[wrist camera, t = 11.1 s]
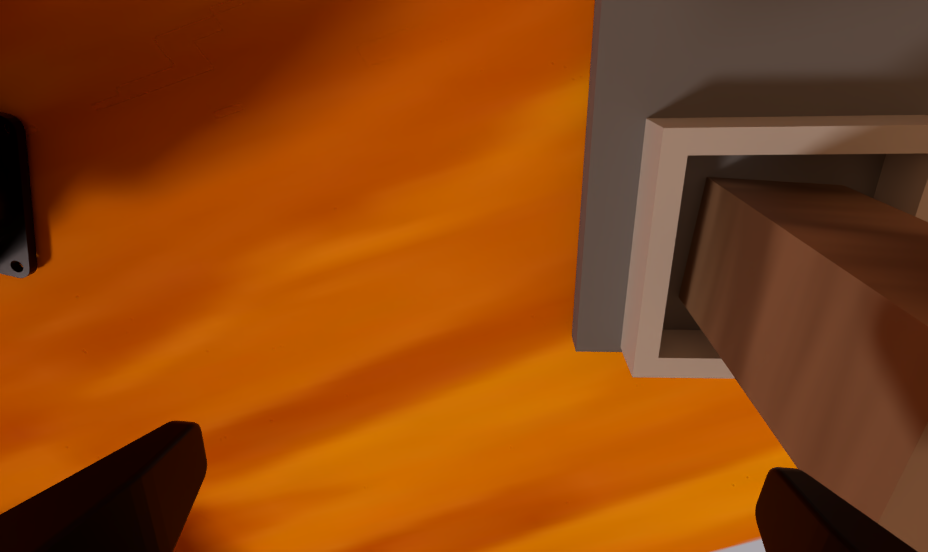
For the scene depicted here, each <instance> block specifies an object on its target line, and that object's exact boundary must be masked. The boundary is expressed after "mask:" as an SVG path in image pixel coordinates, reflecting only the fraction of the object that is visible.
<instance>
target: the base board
mask: <svg viewBox="0 0 928 552" xmlns="http://www.w3.org/2000/svg"><path fill="white" fill-rule="evenodd" d="M707 177H718V178H734V179H750V180H766V181H783V182H799V183H815V184H832V185H844V186H846V187H848V188H851V189H853V190H855V191H858V192H860V193H862V194H864V195H867V196H869V197H871V198H874V199H876V200H878V201H881V202H883V203H885V204H887V205H890V206H892V207H894V208H897V209H899V210H901V211H903V212H906V213H908V214H910V215H913V216H915V217H917V218H920V219H922V220H924V221H926V222H928V0H595V10H594V25H593V39H592V53H591V68H590V82H589V97H588V111H587V126H586V140H585V155H584V169H583V184H582V198H581V213H580V227H579V241H578V256H577V270H576V285H575V299H574V314H573V328H572V338H573V342H574V346H575V350H576V351H591V352H623V355H624V357H625V360H626V362H627V365H628V367H629V370H630V372H631V375H632V377H669V378H735V377H734V376H733V375H732V373H731V372H730V370H729V369H728V367H727V366H726V364H725V363H724V362H723V360H722V359H721V357H720V356H719V354H718V353H717V352H716V350H715V349H714V347H713V346H712V344H711V343H710V341H709V340H708V339H707V337H706V336H705V334H704V333H703V331H702V330H701V329H700V327H699V326H698V324H697V323H696V321H695V320H694V318H693V317H692V316H691V314H690V313H689V311H688V310H687V308H686V307H685V306H684V304H683V303H682V301H681V300H680V298H679V293H680V289H681V285H682V280H683V276H684V272H685V268H686V263H687V259H688V255H689V250H690V246H691V242H692V238H693V233H694V229H695V225H696V221H697V216H698V212H699V208H700V204H701V199H702V195H703V191H704V186H705V182H706V178H707Z"/></svg>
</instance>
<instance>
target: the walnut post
mask: <svg viewBox="0 0 928 552" xmlns="http://www.w3.org/2000/svg"><path fill="white" fill-rule="evenodd" d="M679 298H680V300H681V301H682V303H683V304H684V306H685V307H686V308H687V310H688V311H689V313H690V314H691V316H692V317H693V318H694V320H695V321H696V323H697V324H698V326H699V327H700V329H701V330H702V331H703V333H704V334H705V336H706V337H707V339H708V340H709V341H710V343H711V344H712V346H713V347H714V349H715V350H716V352H717V353H718V354H719V356H720V357H721V359H722V360H723V362H724V363H725V364H726V366H727V367H728V369H729V370H730V372H731V373H732V375H733V376H734V377H735V379H736V380H737V382H738V383H739V385H740V386H741V387H742V389H743V390H744V392H745V393H746V395H747V396H748V398H749V399H750V400H751V402H752V403H753V405H754V406H755V408H756V409H757V410H758V412H759V413H760V415H761V416H762V418H763V419H764V421H765V422H766V423H767V425H768V426H769V428H770V429H771V431H772V432H773V433H774V435H775V436H776V438H777V439H778V441H779V442H780V443H781V445H782V446H783V448H784V449H785V451H786V452H787V454H788V455H789V456H790V458H791V459H792V461H793V462H794V464H795V465H796V466H797V468H798V469H800V470H802V471H804V472H805V473H807V474H808V475H810V476H811V477H813V478H814V479H815V480H817V481H818V482H820V483H821V484H823V485H824V486H825V487H827V488H828V489H830V490H831V491H832V492H834V493H835V494H837V495H838V496H840V497H841V498H842V499H844V500H845V501H847V502H848V503H850V504H851V505H852V506H854V507H855V508H857V509H858V510H859V511H861V512H862V513H864V514H865V515H867V516H868V517H869V518H871V519H872V520H874V521H875V522H877V523H878V524H879V525H881V526H882V527H884V528H885V529H886V530H888V531H889V532H891V533H892V534H894V535H895V536H896V537H898V538H899V539H901V540H902V541H904V542H905V543H906V544H908V545H909V546H911V547H912V548H913V549H915V550H916V551H918V552H928V222H926V221H924V220H922V219H920V218H917V217H915V216H913V215H910V214H908V213H906V212H903V211H901V210H899V209H897V208H894V207H892V206H890V205H887V204H885V203H883V202H881V201H878V200H876V199H874V198H871V197H869V196H867V195H864V194H862V193H860V192H858V191H855V190H853V189H851V188H848V187H846V186H844V185H832V184H815V183H799V182H783V181H766V180H750V179H734V178H718V177H707V178H706V182H705V186H704V191H703V195H702V199H701V204H700V208H699V212H698V216H697V221H696V225H695V229H694V233H693V238H692V242H691V246H690V250H689V255H688V259H687V263H686V268H685V272H684V276H683V280H682V285H681V289H680V293H679Z"/></svg>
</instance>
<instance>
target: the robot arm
mask: <svg viewBox="0 0 928 552" xmlns="http://www.w3.org/2000/svg"><path fill="white" fill-rule="evenodd" d="M5 124H6V126H7V127H8V128H9V130H10V134H9V133H8V132H7V131H6V129H5V127H4V126H5ZM19 262H20V263H21V264H22V266H23V267H22V266H21V265H20V264H19ZM36 270H37V258H36V247H35V235H34V224H33V212H32V201H31V189H30V178H29V166H28V155H27V143H26V132H25V128H24V125H23V124H22V122H21V121H20V120H19V119H18V118H17V117H15V116H13V115H11V114H7V113H3V112H0V273H1V274H5V275H9V276H13V277H18V278H24V277H26V276H28V275H30V274H32V273H34V272H35V271H36ZM206 470H207V459H206V453H205V448H204V442H203V437H202V431H201V428H200V426H199V425H198V424H197V423H195V422H186V421H171V422H168V423H166V424H164V425H162V426H161V427H159V428H157V429H155V430H153V431H151V432H150V433H148V434H146V435H144V436H142V437H141V438H139V439H137V440H135V441H133V442H131V443H130V444H128V445H126V446H124V447H122V448H121V449H119V450H117V451H115V452H113V453H112V454H110V455H108V456H106V457H104V458H102V459H101V460H99V461H97V462H95V463H93V464H92V465H90V466H88V467H86V468H84V469H82V470H81V471H79V472H77V473H75V474H73V475H72V476H70V477H68V478H66V479H64V480H62V481H61V482H59V483H57V484H55V485H53V486H52V487H50V488H48V489H46V490H44V491H42V492H41V493H39V494H37V495H35V496H33V497H32V498H30V499H28V500H26V501H24V502H22V503H21V504H19V505H17V506H15V507H13V508H12V509H10V510H8V511H6V512H4V513H2V514H1V515H0V552H173V550H174V548H175V546H176V543H177V541H178V539H179V536H180V534H181V532H182V529H183V527H184V524H185V522H186V520H187V517H188V515H189V513H190V510H191V508H192V506H193V503H194V501H195V499H196V496H197V494H198V492H199V489H200V487H201V485H202V482H203V480H204V477H205V474H206ZM755 516H756V521H757V525H758V528H759V531H760V535H761V538H762V541H763V544H764V547H765V551H766V552H918V551H916V550H915V549H913V548H912V547H911V546H909V545H908V544H906V543H905V542H904V541H902V540H901V539H899V538H898V537H896V536H895V535H894V534H892V533H891V532H889V531H888V530H886V529H885V528H884V527H882V526H881V525H879V524H878V523H877V522H875V521H874V520H872V519H871V518H869V517H868V516H867V515H865V514H864V513H862V512H861V511H859V510H858V509H857V508H855V507H854V506H852V505H851V504H850V503H848V502H847V501H845V500H844V499H842V498H841V497H840V496H838V495H837V494H835V493H834V492H832V491H831V490H830V489H828V488H827V487H825V486H824V485H823V484H821V483H820V482H818V481H817V480H815V479H814V478H813V477H811V476H810V475H808V474H807V473H805V472H804V471H802V470H800V469H794V468H781V467H775V468H772V469H771V470H770V471H769V472H768V474H767V476H766V479H765V482H764V485H763V487H762V490H761V493H760V496H759V498H758V501H757V504H756V510H755Z"/></svg>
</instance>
